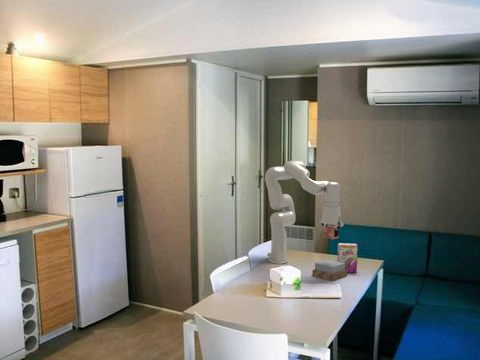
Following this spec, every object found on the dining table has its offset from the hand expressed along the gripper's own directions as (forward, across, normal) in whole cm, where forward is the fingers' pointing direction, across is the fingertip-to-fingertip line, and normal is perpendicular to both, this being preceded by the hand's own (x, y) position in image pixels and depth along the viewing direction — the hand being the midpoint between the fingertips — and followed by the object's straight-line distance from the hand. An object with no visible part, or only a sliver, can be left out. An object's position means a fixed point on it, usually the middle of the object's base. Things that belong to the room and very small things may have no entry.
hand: (331, 235), depth 265 cm
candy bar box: (+24, +2, +15) cm, 28 cm away
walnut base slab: (+24, 0, 0) cm, 24 cm away
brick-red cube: (+1, 0, 0) cm, 1 cm away
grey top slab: (+20, 0, 0) cm, 20 cm away
